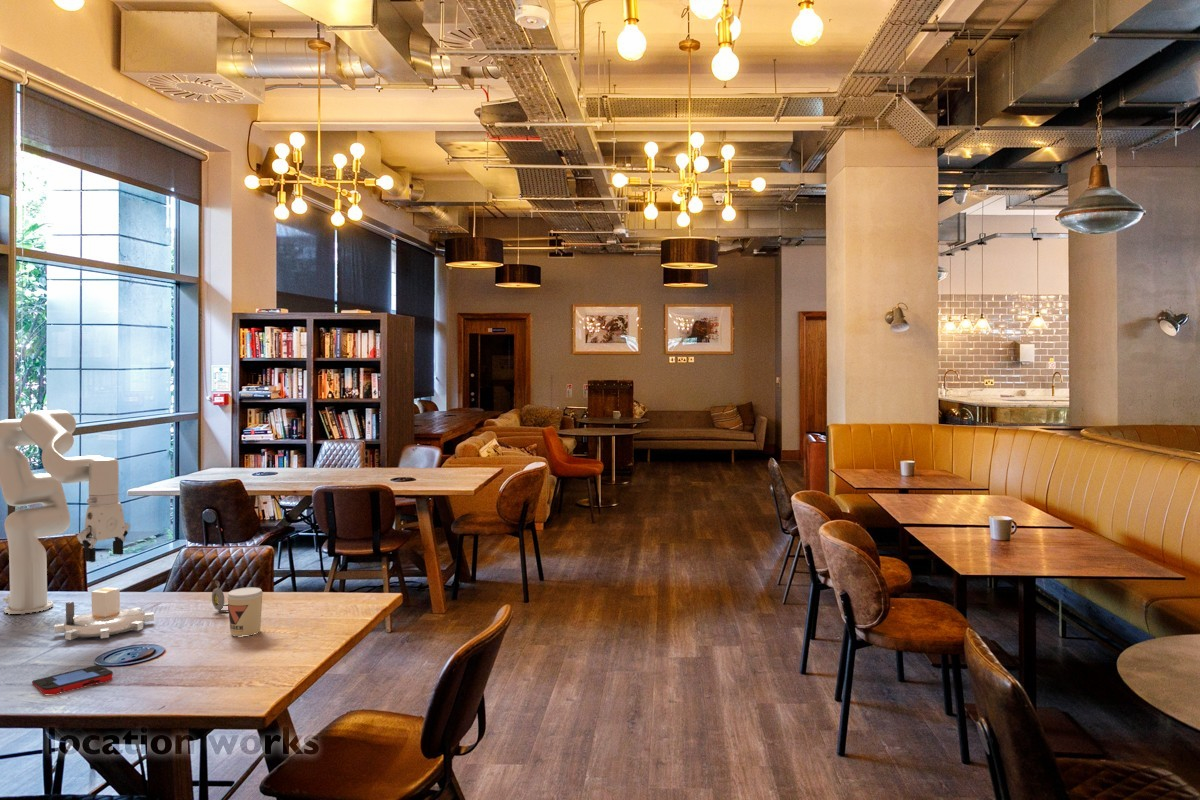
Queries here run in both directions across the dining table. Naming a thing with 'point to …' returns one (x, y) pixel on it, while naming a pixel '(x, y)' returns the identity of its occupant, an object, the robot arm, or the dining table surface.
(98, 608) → the link block
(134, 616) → the sprocket
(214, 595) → the pocket watch
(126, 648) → the dining table surface
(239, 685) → the dining table surface
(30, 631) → the dining table surface
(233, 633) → the coffee cup
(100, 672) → the game console
